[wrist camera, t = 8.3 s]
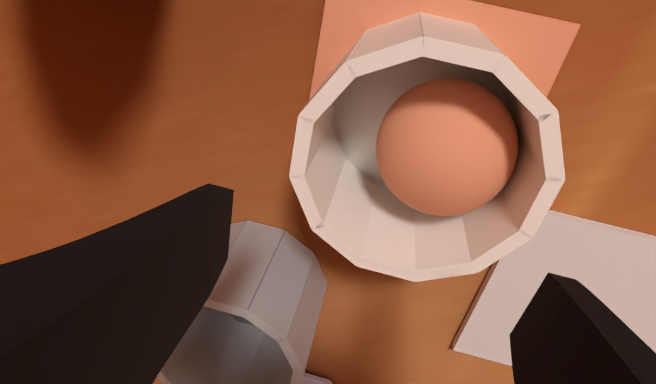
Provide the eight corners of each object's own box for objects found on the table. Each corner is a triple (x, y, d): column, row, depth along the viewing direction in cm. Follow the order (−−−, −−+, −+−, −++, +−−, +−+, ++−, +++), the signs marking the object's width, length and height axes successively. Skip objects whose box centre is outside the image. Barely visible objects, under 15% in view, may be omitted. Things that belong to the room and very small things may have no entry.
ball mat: (622, 389, 24) (626, 397, 23) (452, 343, 24) (452, 350, 24) (743, 257, 19) (751, 264, 18) (523, 203, 19) (525, 209, 19)
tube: (483, 226, 20) (509, 323, 15) (296, 179, 21) (256, 256, 15) (577, 23, 15) (668, 57, 10) (331, -31, 16) (290, -27, 11)
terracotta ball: (450, 174, 19) (515, 241, 15) (349, 173, 18) (390, 247, 14) (487, 66, 17) (577, 113, 13) (372, 55, 15) (432, 103, 11)
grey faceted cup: (313, 340, 26) (289, 432, 21) (194, 308, 27) (143, 390, 22) (337, 243, 22) (314, 328, 17) (197, 206, 23) (134, 278, 18)
